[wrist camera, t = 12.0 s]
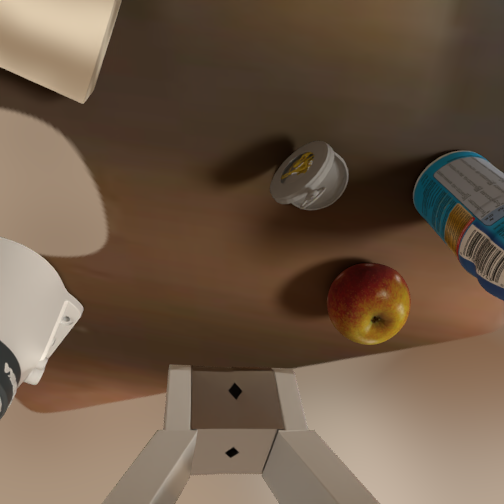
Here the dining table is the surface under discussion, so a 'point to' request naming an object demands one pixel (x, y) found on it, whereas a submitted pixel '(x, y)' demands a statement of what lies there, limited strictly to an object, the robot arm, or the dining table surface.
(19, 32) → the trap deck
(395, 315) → the fruit
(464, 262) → the blue labeled canister
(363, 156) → the dining table surface
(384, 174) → the dining table surface
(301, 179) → the pocket watch
